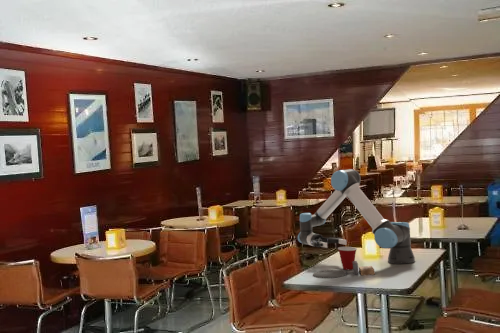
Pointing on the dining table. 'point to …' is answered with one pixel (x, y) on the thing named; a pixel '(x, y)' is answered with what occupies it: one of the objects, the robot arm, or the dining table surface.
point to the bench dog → (355, 267)
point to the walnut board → (366, 270)
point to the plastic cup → (347, 256)
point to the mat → (329, 274)
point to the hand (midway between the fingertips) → (336, 243)
